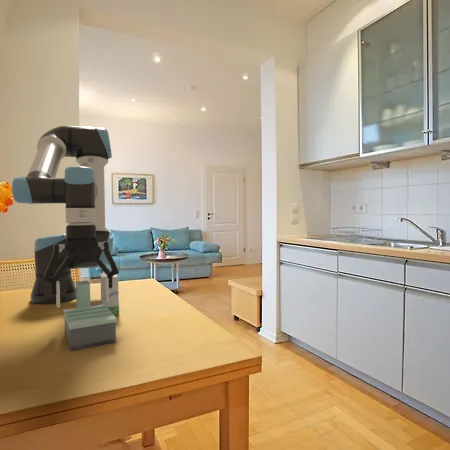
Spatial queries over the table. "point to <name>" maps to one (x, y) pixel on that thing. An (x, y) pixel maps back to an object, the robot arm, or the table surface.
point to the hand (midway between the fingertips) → (83, 303)
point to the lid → (87, 310)
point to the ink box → (111, 294)
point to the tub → (90, 335)
